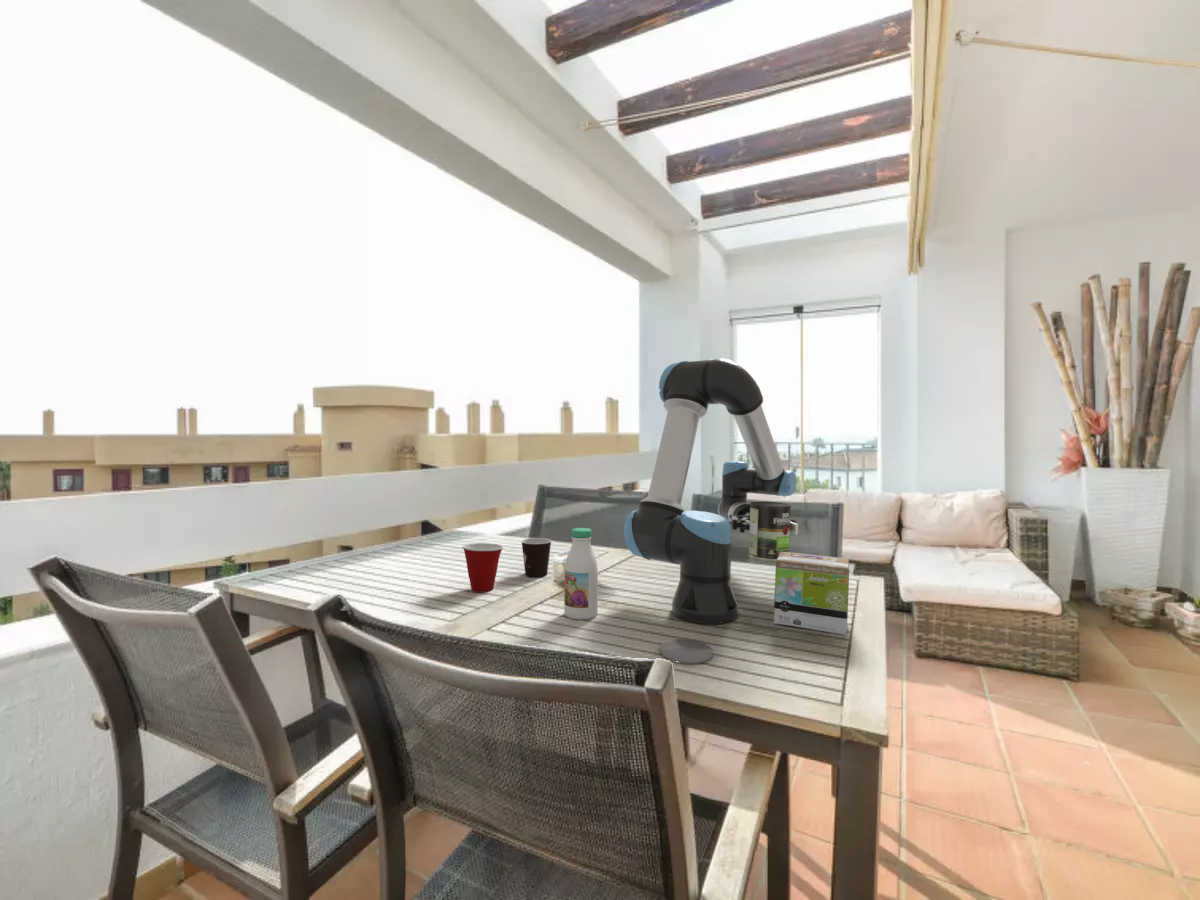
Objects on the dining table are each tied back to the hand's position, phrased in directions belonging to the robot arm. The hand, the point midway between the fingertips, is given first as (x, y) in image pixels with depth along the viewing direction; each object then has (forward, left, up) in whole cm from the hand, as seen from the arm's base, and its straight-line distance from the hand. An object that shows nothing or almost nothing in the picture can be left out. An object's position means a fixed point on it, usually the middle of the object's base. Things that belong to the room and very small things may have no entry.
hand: (776, 529), depth 137 cm
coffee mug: (-61, +29, -18) cm, 70 cm away
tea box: (+1, -17, -18) cm, 25 cm away
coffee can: (0, +4, -8) cm, 9 cm away
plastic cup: (-75, +14, -18) cm, 78 cm away
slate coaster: (-31, -31, -18) cm, 47 cm away
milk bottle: (-50, -8, -18) cm, 54 cm away
